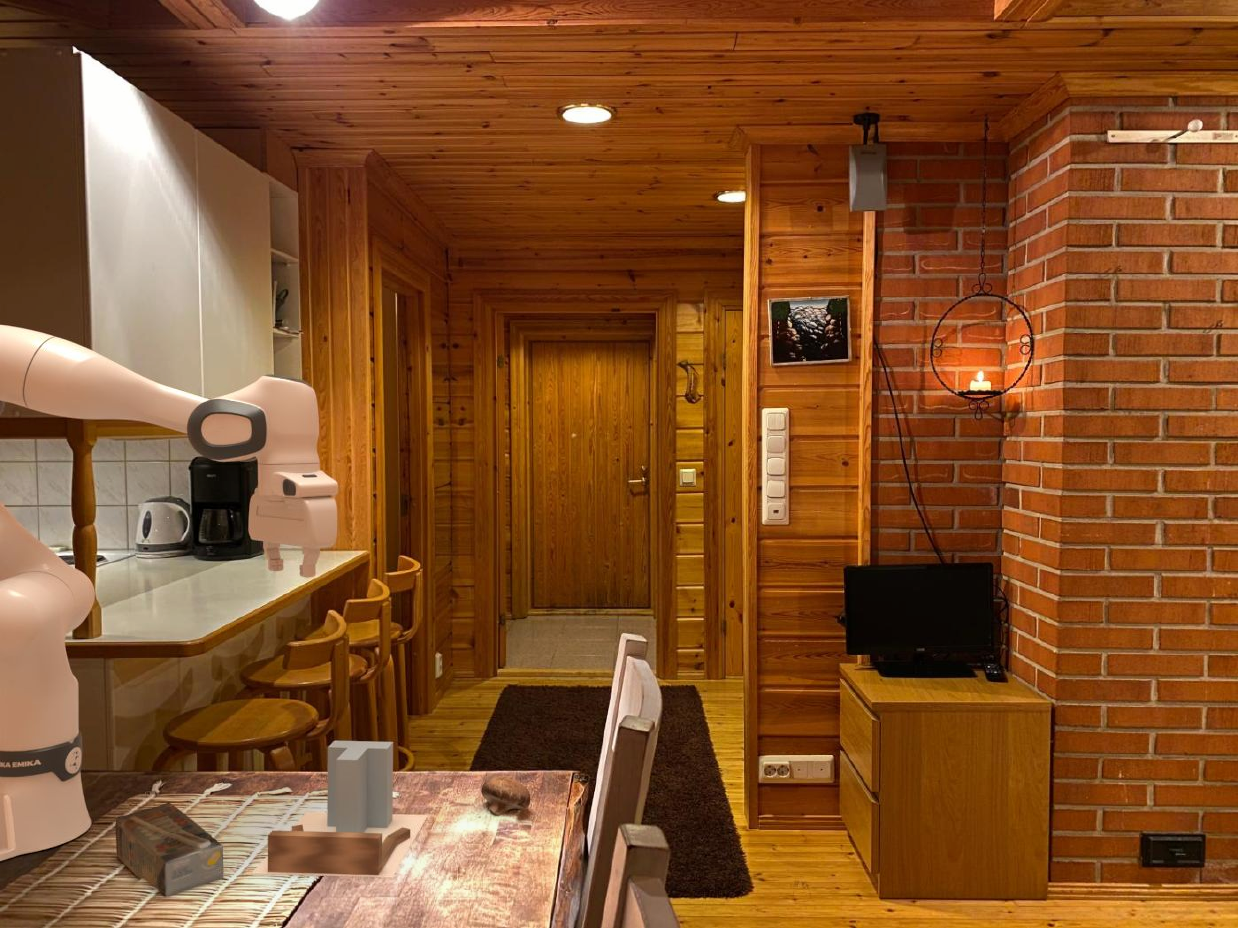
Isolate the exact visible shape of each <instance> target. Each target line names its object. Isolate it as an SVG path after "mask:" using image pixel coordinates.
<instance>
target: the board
mask: <svg viewBox="0 0 1238 928" xmlns="http://www.w3.org/2000/svg"><path fill="white" fill-rule="evenodd" d="M428 816H429V815H428V814H405V813H404V814H400V813H398V814H397V813H396V814H395V813H392V821H391V823H390V824H389V826H388V827H387V828H366V830H365V831H364V833H382V843H383V841H384V840H385V838H386V837H388V835H390V834H391V833H393V832H395V831H397V830H398V829H400V828H402V827H403V828H407V829H410V838H409V839H407V840H405V841H404V842H402V843H400V844H398V845H397V846H396V847H395V849H394V851H393V852H392V854H391V856H390V857H389V859H388V861H387V862H386V864H385V866H384V867H383V869H382V871H381V872H380V874H379V875H355V874H319V873H284V872H268V854H267V856H265V857H264V859H263V860H262V861H261V862H260V863H259V864H258V866H256V868H255V869H253V871H252V872H251V873H250V874H251V875H276V876H277V875H279V876H280V875H285V876H314V877H315V876H316V877H318V876H321V877H351V878H352V877H355V878H356V877H358V878H386V879H387V878H388V879H389V878H391V879H393V878H394V876H395V874H396V873H397V870H398V869H399V867H400V865H401V863H402V862H403V860H404V859H405V857H406V855H407V853H408V852H409V849H410V848H411V846H412V844H413V843H414V841H415V839H416V837H417V836H418V834H419V832H420V830H421V828H422V826H423V825H424V823H425V821H426V819H427V818H428ZM296 825H303V830H304V831H313V832H336V827H327V811H325V812H323V811H320V812H319V811H306V812H305V813H304V814H303V815H302V817H300V818H299V820H298V821H297V822H296V823H295V824H294V825H293V826H296ZM289 831H292V828H291V829H289Z"/></svg>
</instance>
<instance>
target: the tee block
mask: <svg viewBox="0 0 1238 928" xmlns="http://www.w3.org/2000/svg"><path fill="white" fill-rule="evenodd" d="M393 773H394V741H366V740H364V741H358V740H334V741H332V742H331V744H330V745H328V746H327V799H326V800H327V805H326V806H327V810H326V812H327V827H336V832H350V833H364V831H365V830H366V828H387V827H388V826H389V824H390V823H391V821H392V814H393V811H394V810H393V801H394V799H393V795H394V794H393V791H394V788H393V787H394V786H393V785H394V784H393V783H394V782H393V781H394V775H393Z"/></svg>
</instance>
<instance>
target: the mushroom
mask: <svg viewBox="0 0 1238 928" xmlns="http://www.w3.org/2000/svg"><path fill="white" fill-rule="evenodd" d="M480 792H481V794H482V797H483V798H484V799H485V800H486V801H488V802H489V803H490V806H489V807H488V809H489V810H490V811H491V812H492V813H493V814H494V815H495V816H496V817H500V816H502V815H504V814H505V813H506V812H509V811H510V810H514V809H515V810H516V809H517V810H518V811H522V810H527V809H528V808H529V806H530V805H531V794H530V791H529V790H528V788H527V787H526V786H525V784H523V783H521V782H519V781H517V780H515V779H512V778H510V777H506V776H493V777H491V778H489V779H487V780H486V781H485V782H484V783H483V784H482V786H481V790H480Z"/></svg>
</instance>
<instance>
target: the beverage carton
mask: <svg viewBox="0 0 1238 928" xmlns="http://www.w3.org/2000/svg"><path fill="white" fill-rule="evenodd" d="M115 844H116V845H115V847H116V848H115V849H116V851H115V852H116V857H117V858H118V859H119V860H120V861H121V862H122V863H123V864H124V865H125V866H126V868H127V869H129V870H130V871H131V872H133V874H134V875H135V876H136V877H137V878H138V879H140V880H142V879H144V880H145V881H146V882H148V883H149V884H150V885H152V886H153V887H155V888H156V889H157V890H158V891H159V892H161V894H163V896H164V897H165V898H167V897H170V896H174V895H176V894H180V893H182V892H185V891H188V890H191V889H194V888H197V887H200V886H204V885H207V884H209V883H212V882H216V881H220V880H222V879H224V846H223V844H221V843H220V842H219V841H218V840H217V839H216V838H214V837H213V836H212V835H211V834H210V833H209V832H208V831H206V830H205V829H204V828H203V827H201V826H200V825H199V823H196V822H195V821H194V820H192V819H191V818H190V817H189V816H188V815H187V814H185V813H184V812H183V811H182V810H180V809H179V808H177V807H176V806H175V805H174V804H172V803H171V802H166V803H162V804H161V805H158V806H153V807H151V808H145V809H142V810H141V809H140V810H139V811H137V812H132V813H129V814H125V815H121V816H118V817H116V818H115Z"/></svg>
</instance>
